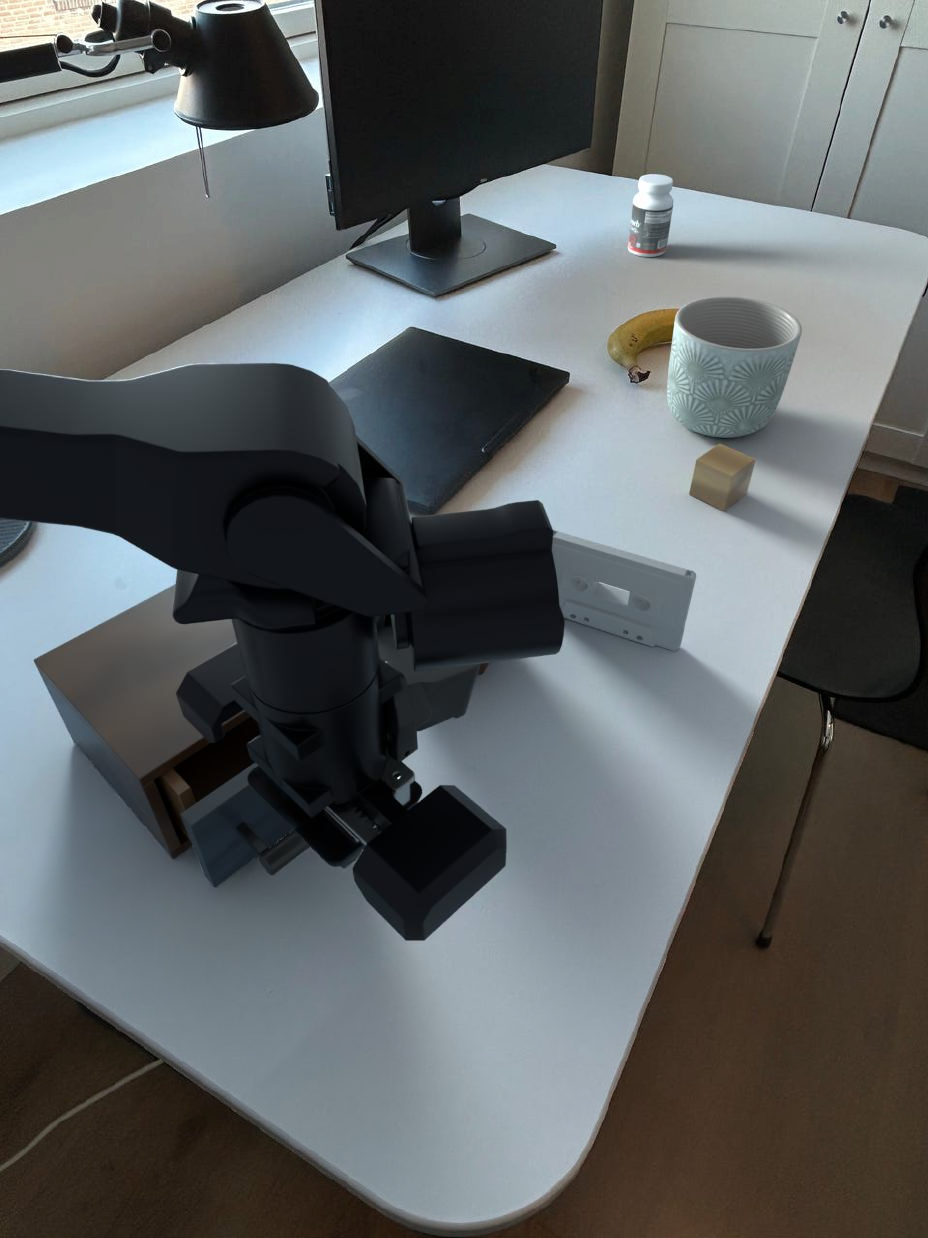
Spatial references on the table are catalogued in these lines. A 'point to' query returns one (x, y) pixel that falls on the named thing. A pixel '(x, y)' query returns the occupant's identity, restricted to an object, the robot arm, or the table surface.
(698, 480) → the oak block
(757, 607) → the table surface
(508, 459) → the table surface
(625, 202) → the table surface
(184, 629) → the cabinet
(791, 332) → the planter
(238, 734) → the drawer
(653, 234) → the pill bottle
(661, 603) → the cassette
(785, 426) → the table surface
